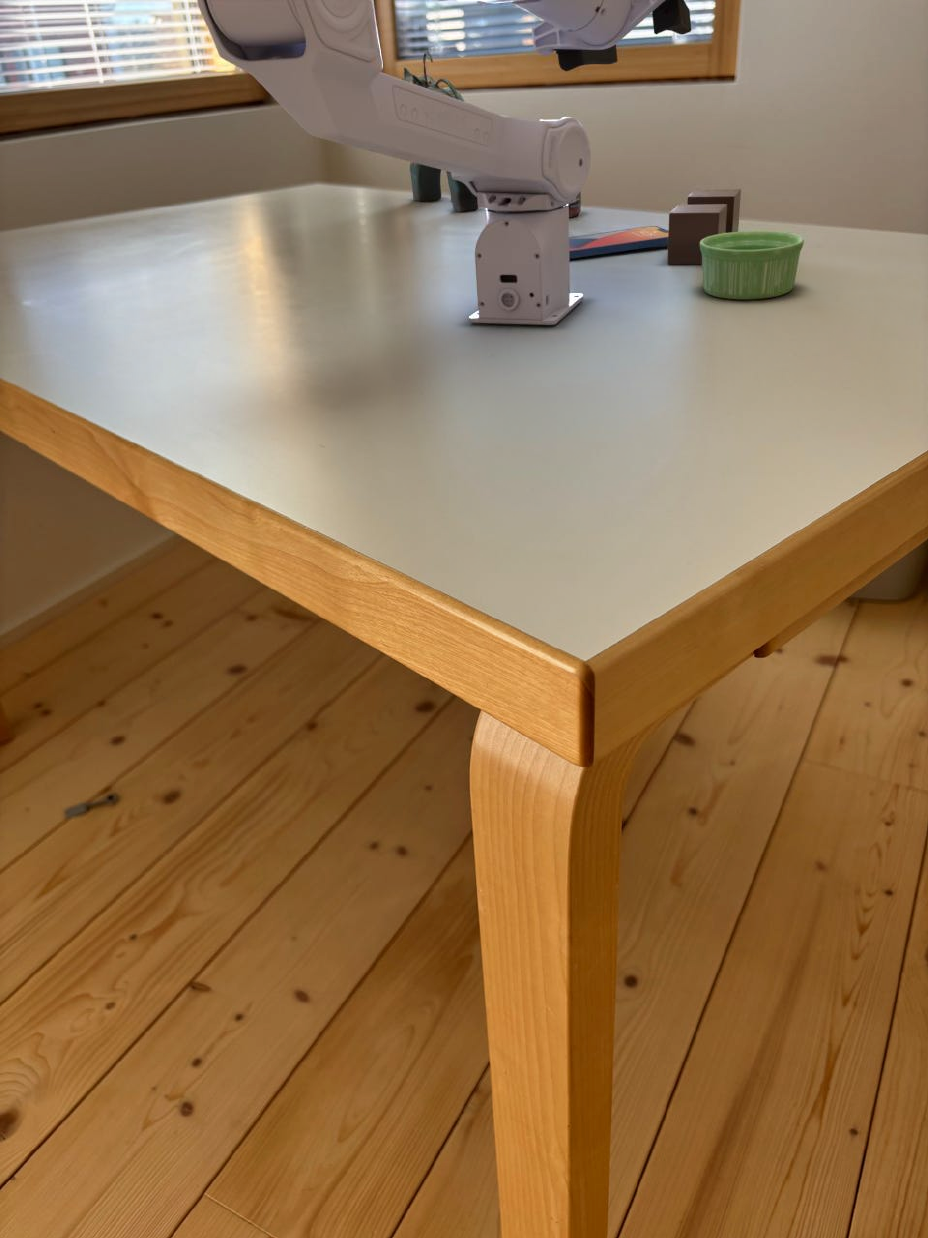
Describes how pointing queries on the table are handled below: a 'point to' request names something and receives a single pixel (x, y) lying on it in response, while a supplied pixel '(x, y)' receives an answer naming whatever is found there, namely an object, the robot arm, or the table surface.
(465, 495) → the table surface
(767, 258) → the ramekin
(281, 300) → the table surface
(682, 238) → the walnut block near
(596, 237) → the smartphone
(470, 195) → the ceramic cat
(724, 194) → the walnut block far
